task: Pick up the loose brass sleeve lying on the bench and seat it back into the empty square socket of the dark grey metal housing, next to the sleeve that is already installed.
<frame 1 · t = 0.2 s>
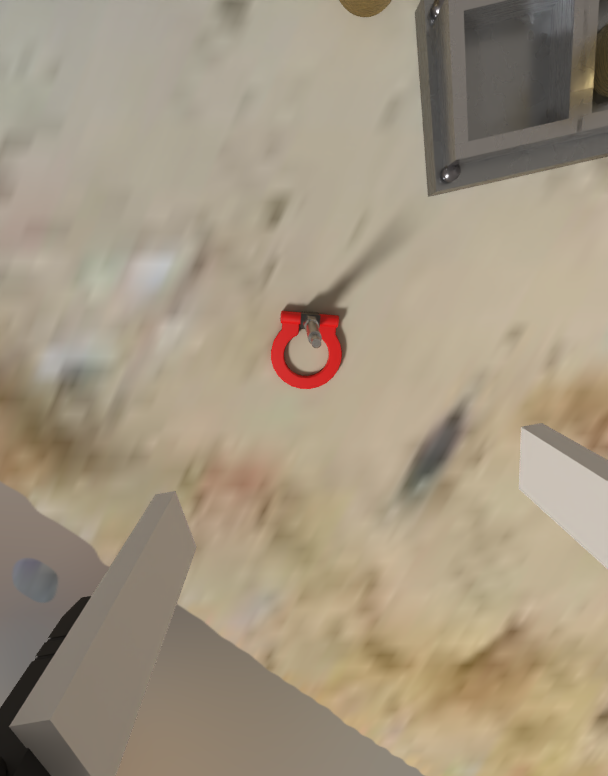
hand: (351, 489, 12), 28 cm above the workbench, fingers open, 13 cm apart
tow hook: (306, 350, 39), on the workbench
housing: (543, 83, 31), on the workbench
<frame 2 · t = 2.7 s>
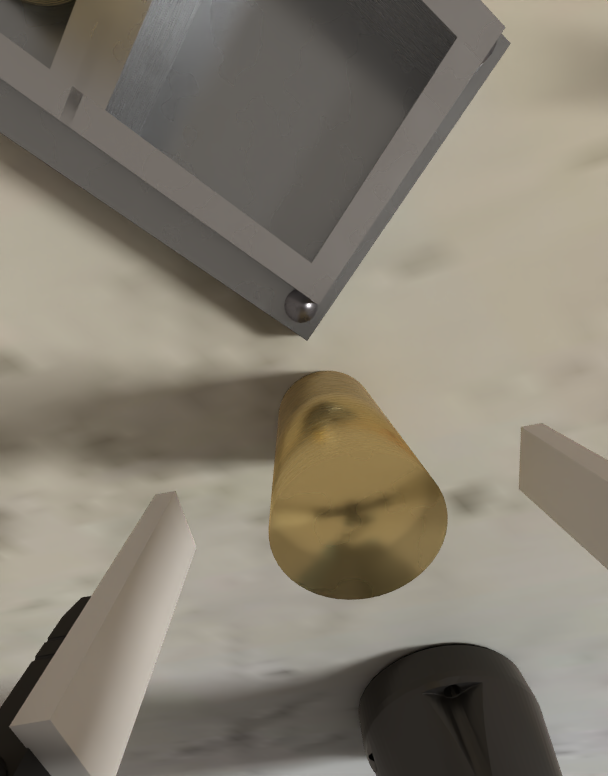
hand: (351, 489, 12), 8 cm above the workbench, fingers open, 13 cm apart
sleeve: (326, 416, 20), on the workbench
housing: (181, 49, 14), on the workbench
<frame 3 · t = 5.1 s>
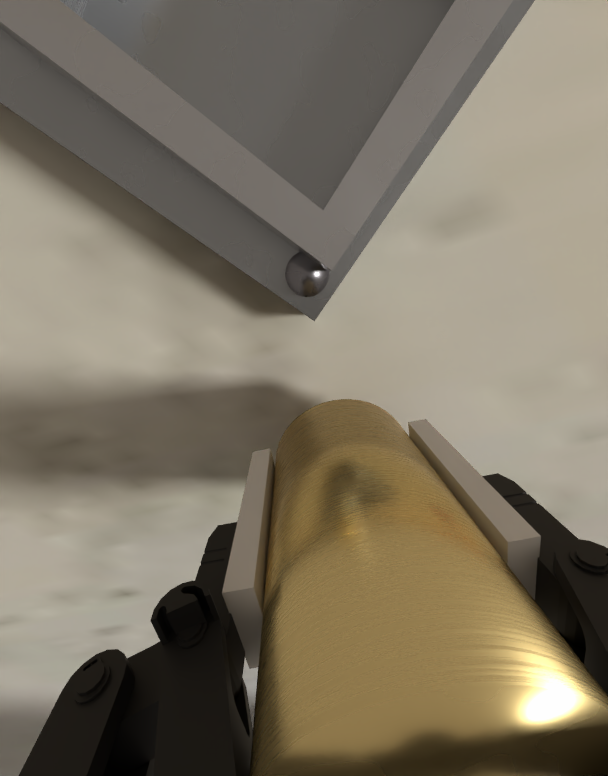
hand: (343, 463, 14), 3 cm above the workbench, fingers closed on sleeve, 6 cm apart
sleeve: (342, 462, 14), point 3 cm above the workbench, touching gripper
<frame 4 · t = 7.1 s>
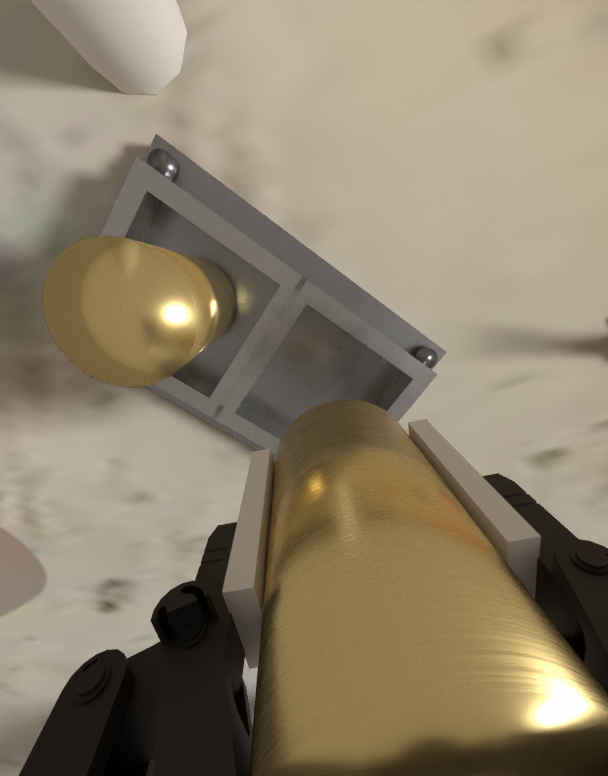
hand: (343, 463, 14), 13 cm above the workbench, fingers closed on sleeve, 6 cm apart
sleeve: (343, 462, 14), point 13 cm above the workbench, touching gripper
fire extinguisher: (128, 19, 19), on the workbench
housing: (261, 341, 25), on the workbench
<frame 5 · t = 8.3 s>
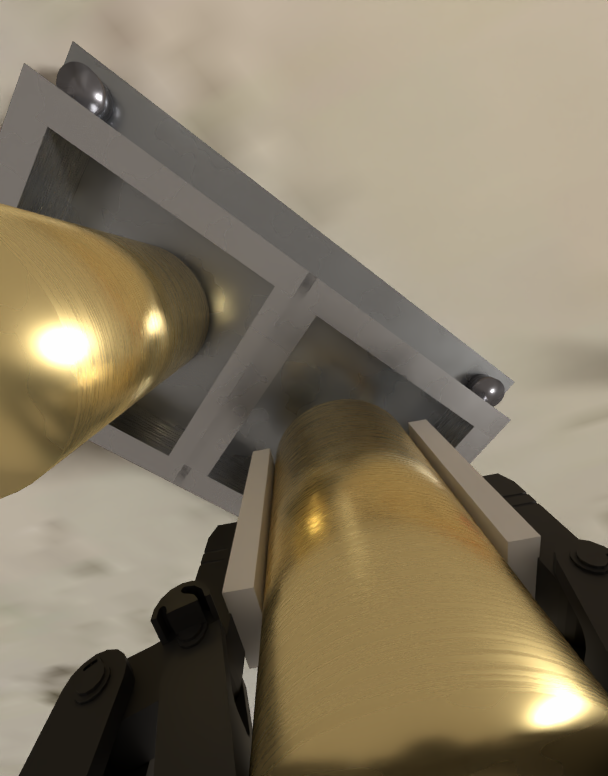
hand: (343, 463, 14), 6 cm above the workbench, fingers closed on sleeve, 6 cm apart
sleeve: (343, 462, 14), point 5 cm above the workbench, touching gripper
housing: (250, 364, 18), on the workbench
when the fingers open (5 cm above the workbench, at t = 9.2 s): sleeve drops 2 cm, resting on housing.
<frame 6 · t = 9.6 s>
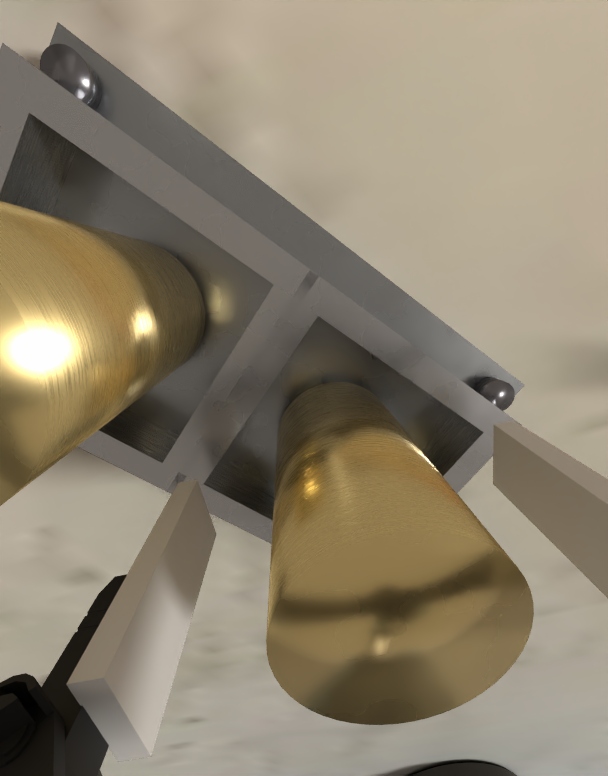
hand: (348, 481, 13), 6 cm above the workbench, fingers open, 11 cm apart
sleeve: (335, 437, 17), point 2 cm above the workbench, touching housing
housing: (248, 366, 17), on the workbench
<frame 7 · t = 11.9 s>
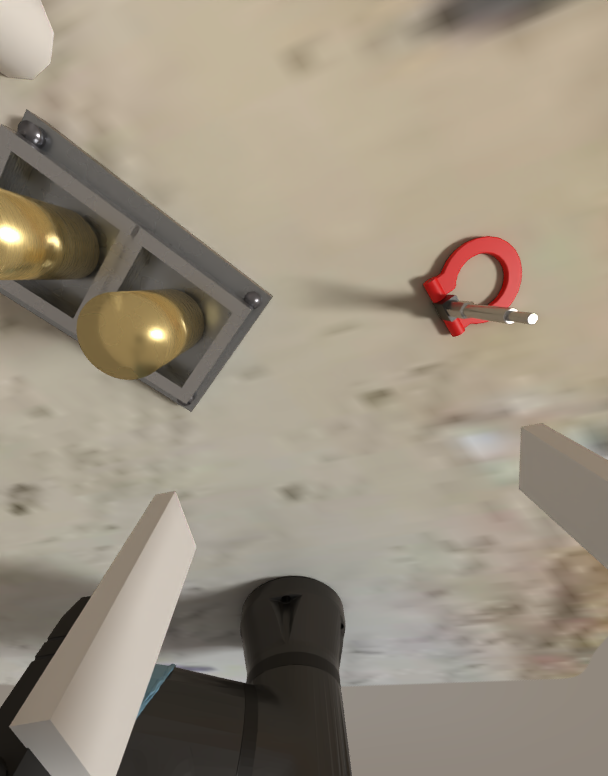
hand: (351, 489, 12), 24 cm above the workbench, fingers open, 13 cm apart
sleeve: (173, 321, 31), point 2 cm above the workbench, touching housing
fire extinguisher: (8, 20, 25), on the workbench
tow hook: (472, 284, 33), on the workbench
housing: (131, 282, 32), on the workbench
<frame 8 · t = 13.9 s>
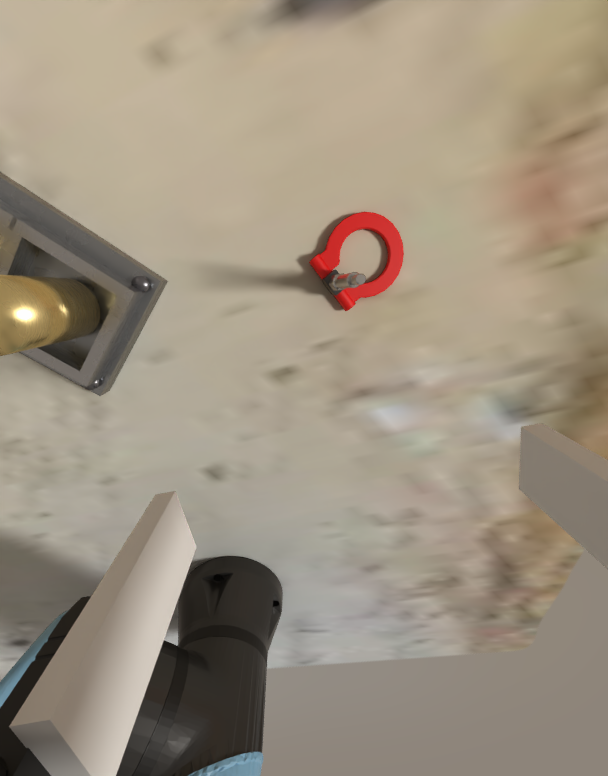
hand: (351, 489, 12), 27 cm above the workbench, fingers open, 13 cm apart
sleeve: (69, 308, 33), point 2 cm above the workbench, touching housing
tow hook: (359, 259, 35), on the workbench
housing: (31, 275, 34), on the workbench
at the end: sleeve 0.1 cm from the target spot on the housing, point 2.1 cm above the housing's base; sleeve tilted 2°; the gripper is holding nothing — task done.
